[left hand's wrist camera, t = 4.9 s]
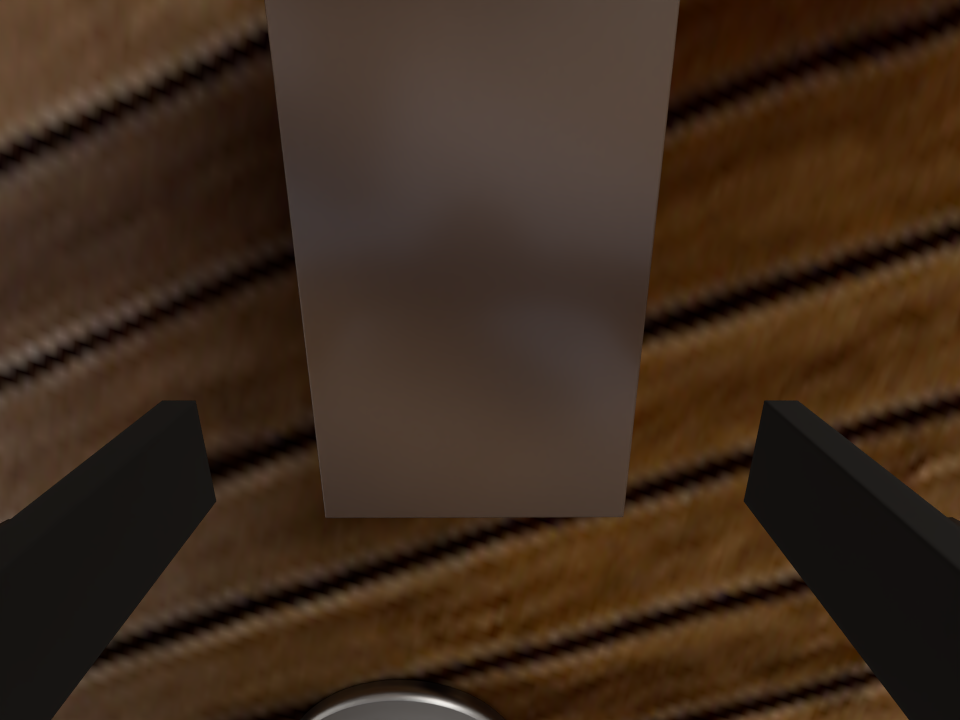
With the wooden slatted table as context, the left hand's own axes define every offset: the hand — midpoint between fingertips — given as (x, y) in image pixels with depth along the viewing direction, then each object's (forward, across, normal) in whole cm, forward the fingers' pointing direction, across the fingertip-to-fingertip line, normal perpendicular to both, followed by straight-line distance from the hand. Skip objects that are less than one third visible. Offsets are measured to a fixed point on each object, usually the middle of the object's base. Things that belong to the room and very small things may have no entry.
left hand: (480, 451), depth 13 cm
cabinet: (+13, 0, -4) cm, 13 cm away
